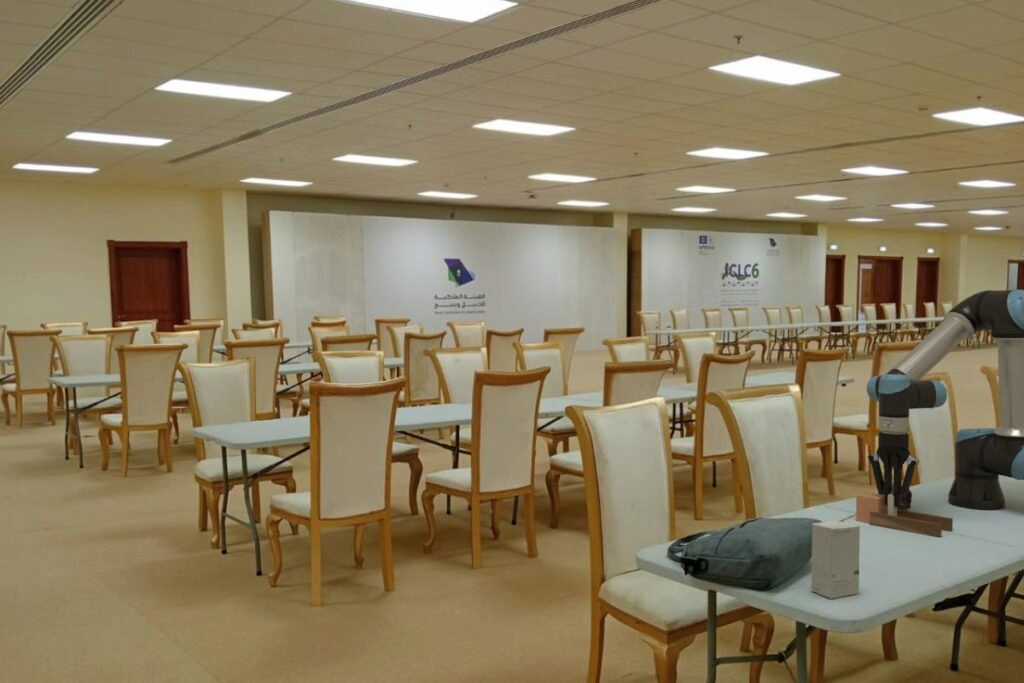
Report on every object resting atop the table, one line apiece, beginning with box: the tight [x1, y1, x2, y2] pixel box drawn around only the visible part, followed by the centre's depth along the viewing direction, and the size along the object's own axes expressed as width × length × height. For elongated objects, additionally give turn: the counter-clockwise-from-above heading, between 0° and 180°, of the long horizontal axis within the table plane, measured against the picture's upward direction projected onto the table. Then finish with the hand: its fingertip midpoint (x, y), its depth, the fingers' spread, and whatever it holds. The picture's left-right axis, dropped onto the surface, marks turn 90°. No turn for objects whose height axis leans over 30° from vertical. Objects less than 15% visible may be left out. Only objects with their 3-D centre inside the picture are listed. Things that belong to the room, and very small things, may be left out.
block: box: [855, 491, 887, 524], centre depth 237 cm, size 6×6×7 cm
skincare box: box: [810, 520, 861, 600], centre depth 183 cm, size 8×6×15 cm
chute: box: [839, 507, 954, 539], centre depth 233 cm, size 12×26×4 cm, turn 45°
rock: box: [877, 483, 913, 511], centre depth 252 cm, size 12×9×10 cm
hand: (892, 518), depth 234 cm, fingers closed
